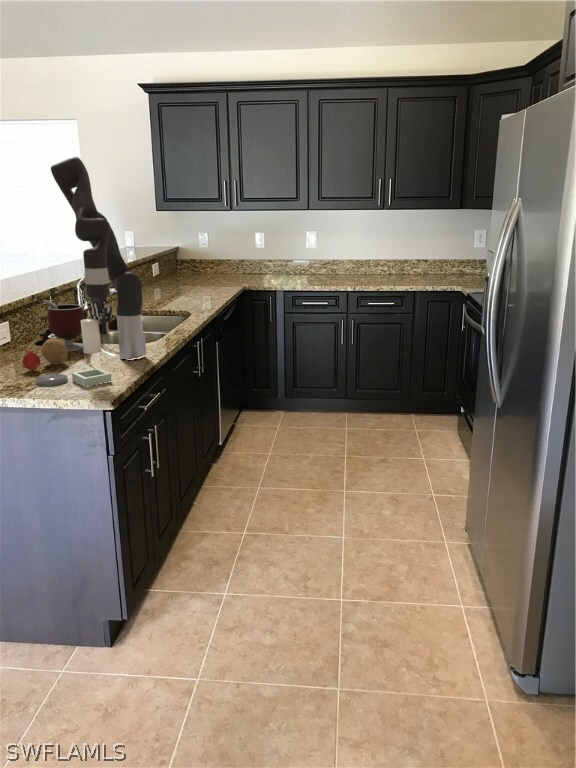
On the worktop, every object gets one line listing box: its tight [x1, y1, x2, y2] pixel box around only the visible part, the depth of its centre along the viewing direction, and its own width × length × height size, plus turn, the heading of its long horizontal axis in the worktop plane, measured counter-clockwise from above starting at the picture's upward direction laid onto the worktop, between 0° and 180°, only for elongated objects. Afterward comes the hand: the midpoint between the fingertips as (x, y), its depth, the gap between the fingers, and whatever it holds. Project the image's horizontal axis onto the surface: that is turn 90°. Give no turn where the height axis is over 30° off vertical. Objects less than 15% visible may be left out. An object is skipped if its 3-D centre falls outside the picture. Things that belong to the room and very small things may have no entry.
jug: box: [81, 318, 110, 355], centre depth 197 cm, size 9×6×10 cm, turn 134°
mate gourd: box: [42, 299, 85, 352], centre depth 243 cm, size 16×14×20 cm
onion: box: [22, 349, 41, 372], centre depth 211 cm, size 6×6×8 cm
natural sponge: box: [40, 337, 69, 366], centre depth 220 cm, size 9×9×10 cm
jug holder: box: [71, 367, 112, 388], centre depth 200 cm, size 9×9×3 cm
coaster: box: [35, 373, 69, 386], centre depth 200 cm, size 10×10×1 cm
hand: (101, 333), depth 198 cm, fingers closed on jug
